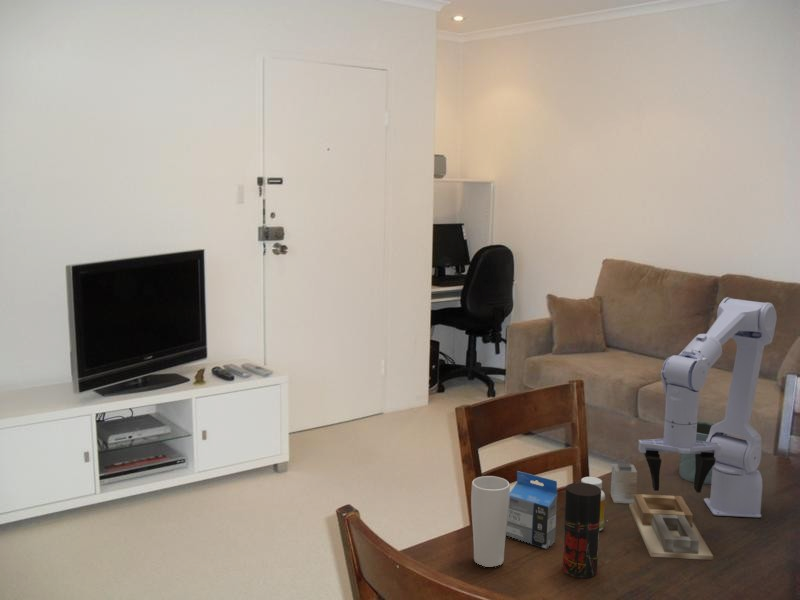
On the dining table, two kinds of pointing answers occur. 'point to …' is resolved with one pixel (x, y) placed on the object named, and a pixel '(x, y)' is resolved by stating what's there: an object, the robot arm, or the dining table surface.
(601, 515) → the supplement bottle
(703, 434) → the green plant pot
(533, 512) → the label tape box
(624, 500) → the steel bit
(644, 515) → the socket board
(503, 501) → the drinking glass
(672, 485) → the dining table surface
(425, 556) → the dining table surface
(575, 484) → the deodorant
